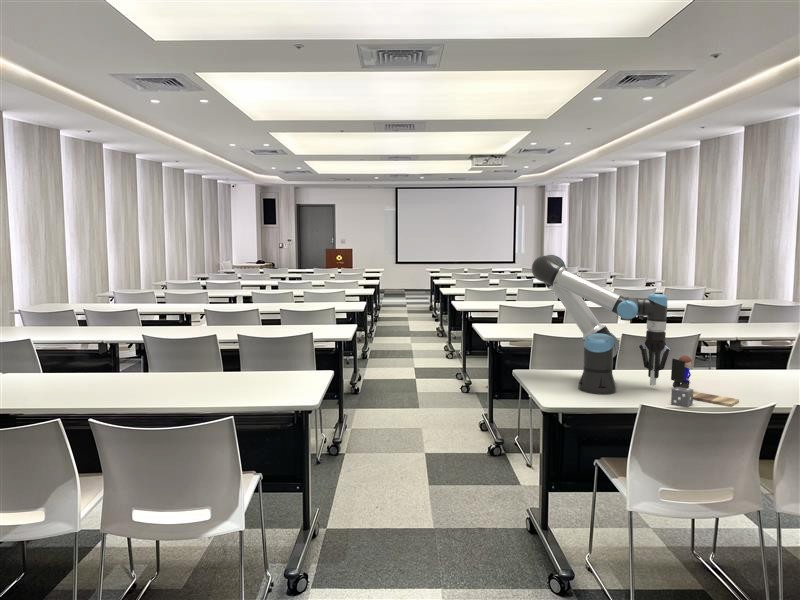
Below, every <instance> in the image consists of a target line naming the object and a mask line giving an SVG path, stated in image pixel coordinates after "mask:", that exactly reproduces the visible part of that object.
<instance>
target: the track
mask: <svg viewBox="0 0 800 600" xmlns="http://www.w3.org/2000/svg"><path fill="white" fill-rule="evenodd" d="M693 401H698V402H703V403H708V404H714V405H720V406H725V407H730V408H731V407H733V406H734V405H737V404H738V403H740V399H739V398H733V397H728V396H722V395H716V394H711V393H706V392H705V393H704V392H700V391H694V390H693Z"/></svg>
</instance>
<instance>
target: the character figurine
mask: <svg viewBox="0 0 800 600" xmlns="http://www.w3.org/2000/svg"><path fill="white" fill-rule="evenodd" d="M692 364H693V360H692V358H691V357H690V356H689V355H681V356H680V357H679V358H678V359H676V358H672V359H671V372H670V373H671V375H670V381H673V382H672V388H673V389H674V388H676V387H681V388H688V389H690V384H691V381H690V378H691V376H692V373H691V371H690V369H689V367H691V366H692Z"/></svg>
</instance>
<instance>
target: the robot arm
mask: <svg viewBox="0 0 800 600" xmlns="http://www.w3.org/2000/svg"><path fill="white" fill-rule="evenodd" d="M531 273H532V275H533V277H534V278H535V280H537V281H540V282H542V283H544V285H545V286H546V288H547V289H548V290H551V291H553V292H554V294H556V296H557V298H558V299H559V300H560V302H561V304H562V306H563V307H564V308H565V310H566V311H567V313H568V314H569V315H570V318H571V319H572V320H573V321H574V323H575V324H576V326H577V327H578V329H579V330H580V332H581V333H582V335H583V336H582V342H583V371H582V374H581V377H580V379H579V382H578V390H579V391H581V392H583V393H587V394H592V395H593V394H595V395H611V394H615V393H616V392H617V385H616V381H615V377H614V374H613V363H614V358H615V357H616V355H618V353H619V349H620V343H619V340H618V338H617V337H616V336H615V335H614V334H613V333H612V332H610V329H609V328H608V327H607V326H606V325H604V324H601V323H600V322H599V320H598V319H597V317H596V316H595V315H594V312H592V310H591V309H590V306H588V305H587V303H586V301H585V300H587V301H589V302H591V303H592V304H593V303H594V304H595V305H598V306H599V307H602V308H604V309H606V310H608V311H611V312H612V313H614V314H616V315H618V316H619V317H620V318H621V319H623V320H630V319H634V318H636V316H638V317H639V316H640V317H641V316H642V317H647V318H646V329H647V330H646V332H645V333H646V335H645V340H644V343H643V344H640V345H639V346H638V347H639V349H640V351H641V357H642V362H643V368H645V369H648V375H647V376H648V378H649V386H652V387H654V386H657V379H659V375H660V371H662V370H665V366H666V363H667V360H668V357H669V354H670V353H671V351H672V348H670V347H668V346H667V343H666V330H667V317H668V296H667V295H666V294H661V293H650V294H648V296H647V298H646V297H645V298H641V297H629V296H626V297H625V296H623V295H620V294H618V293H615V292H614V291H611V290H609V289H607V288H606V287H603V286H600V285H599V284H596V283H594V282H593V281H589V280H588V279H585V278H583V277H581V276H579V275H576V274H574V273H572V272H570V271H569V270H568V269H567V267H566V264H565V261H564V260H563V259H562V258H561V257H560V256H558V255H555V254H547V255H540V256H539V257H537V258H535V259H534V260H533V262H532V265H531ZM647 350H648V351H647ZM662 351H664V352H663V354H662ZM661 355H662V357H661Z"/></svg>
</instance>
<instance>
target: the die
mask: <svg viewBox="0 0 800 600" xmlns="http://www.w3.org/2000/svg"><path fill="white" fill-rule="evenodd" d="M693 391H694V389H693V388H681V387H676V388H674V387H673V388H672V389H671V394H670V395H671V396H670V405H673V406H678V407H683V408H689V407H690V406H692V405H693V402H694V400H693Z"/></svg>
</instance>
